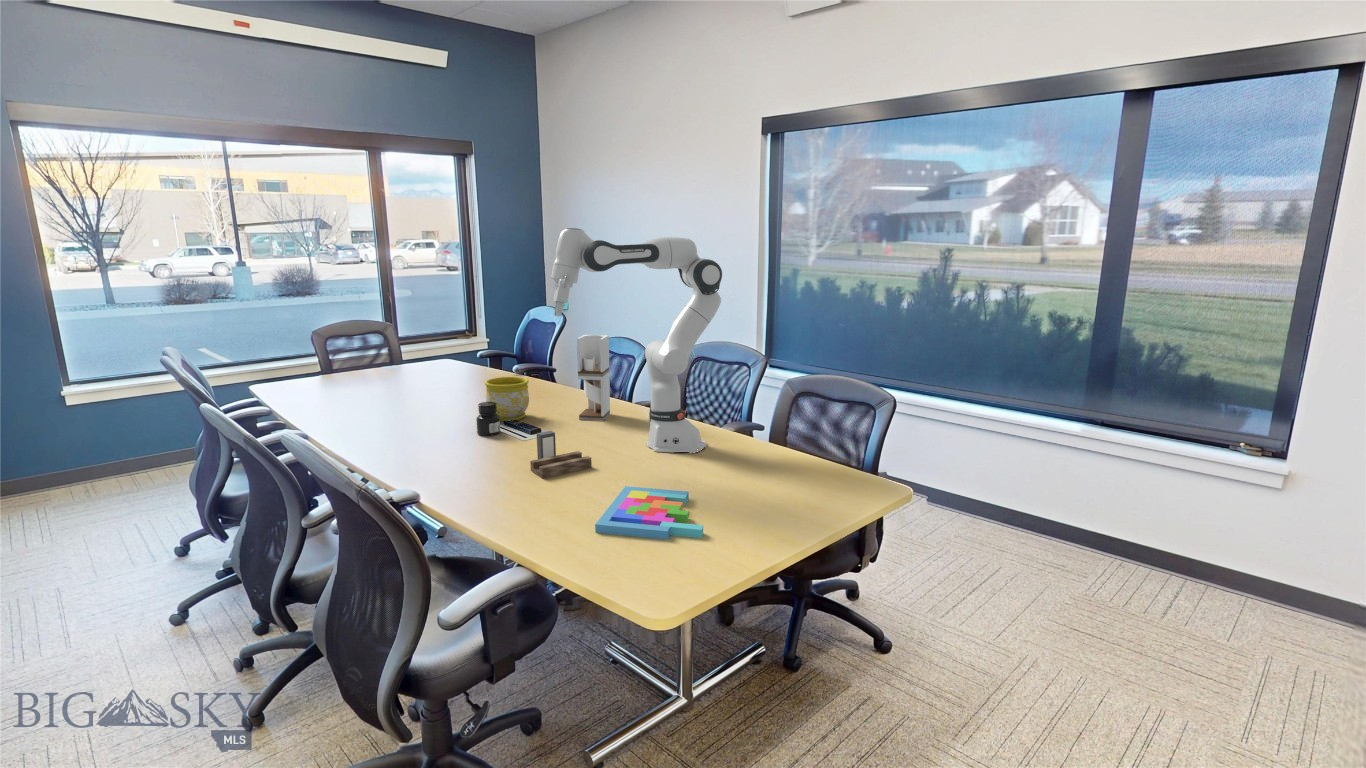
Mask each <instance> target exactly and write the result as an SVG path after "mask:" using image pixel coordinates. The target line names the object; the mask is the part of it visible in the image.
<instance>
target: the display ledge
mask: <svg viewBox="0 0 1366 768" xmlns="http://www.w3.org/2000/svg"><path fill="white" fill-rule="evenodd" d="M529 464H530V471H531V472H532V473H533V474H535V475H536V476H538V477H539V478H541V479H543V480H544V479H547V478H552V477H556V476H562V475H565V474H569V473H573V472H579V471H582V470H583V471H584V470H588V469H591V468H592V467H593V465H592V464H593V463H592V457H591V456H589V455H586V456H583V452H581V451H579V450H577V451H572V452H566V453H562V454H556V456H552V457H547V458H542V459H538V458H537V459H533V460H530V463H529Z"/></svg>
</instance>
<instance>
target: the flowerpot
mask: <svg viewBox="0 0 1366 768" xmlns="http://www.w3.org/2000/svg"><path fill="white" fill-rule="evenodd" d="M528 384H529V379H528V378H526V377H523V376H499V377H494V378H492V377H491V378H489V379H487V380H485V381H484V386H486V387H485V402H495V403H496V407H497V412H496V413H497V415H499V417H500V423H501V422H503V421H506V420H517V421H519V420H523V419H524V418H525V416H526V415H527V414H526V411H527V409H528V406H529V405H530V404H529V403H530V393H529V388H528V387H529V385H528ZM503 423H504V422H503Z"/></svg>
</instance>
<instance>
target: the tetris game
mask: <svg viewBox="0 0 1366 768" xmlns="http://www.w3.org/2000/svg"><path fill="white" fill-rule="evenodd" d="M687 500H688V501H689V491H686V490H676V489H675V490H674V489H665V488H664V489H663V488H652V487H651V488H650V487H640V486H639V487H637V486H624V487H623V488H622V490H621V491H620V493H618V495H617V496H616V497H615V498H614V500H613V501H612V502H611V504H610V505H609V506H608V507H607V508H606V510H605V511H604V512H603V514H602V515H601V516H600V518H599V519H598V520H597V521H596V522H595V524H594V526H595V527H594V529H595V531H594V532H595V533H597V534H598V533H599V534H610V535H618V536H629V537H637V538H639V537H640V538H648V539H649V538H650V539H658V540H659V539H660V540H669V538H670V536H675V537H676V536H677V537H688V538H696V539H702V537H703V536H702V535H704V525H702V524H693V523H688V521H689V519H688V518H689V517H690V516H689V515H690V514H689V513H690V511H689V510H684V506H683V505H685V504H687V503H686V502H688V501H687ZM685 506H686V505H685ZM675 521H676V522H675ZM684 522H687V523H684Z"/></svg>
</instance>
